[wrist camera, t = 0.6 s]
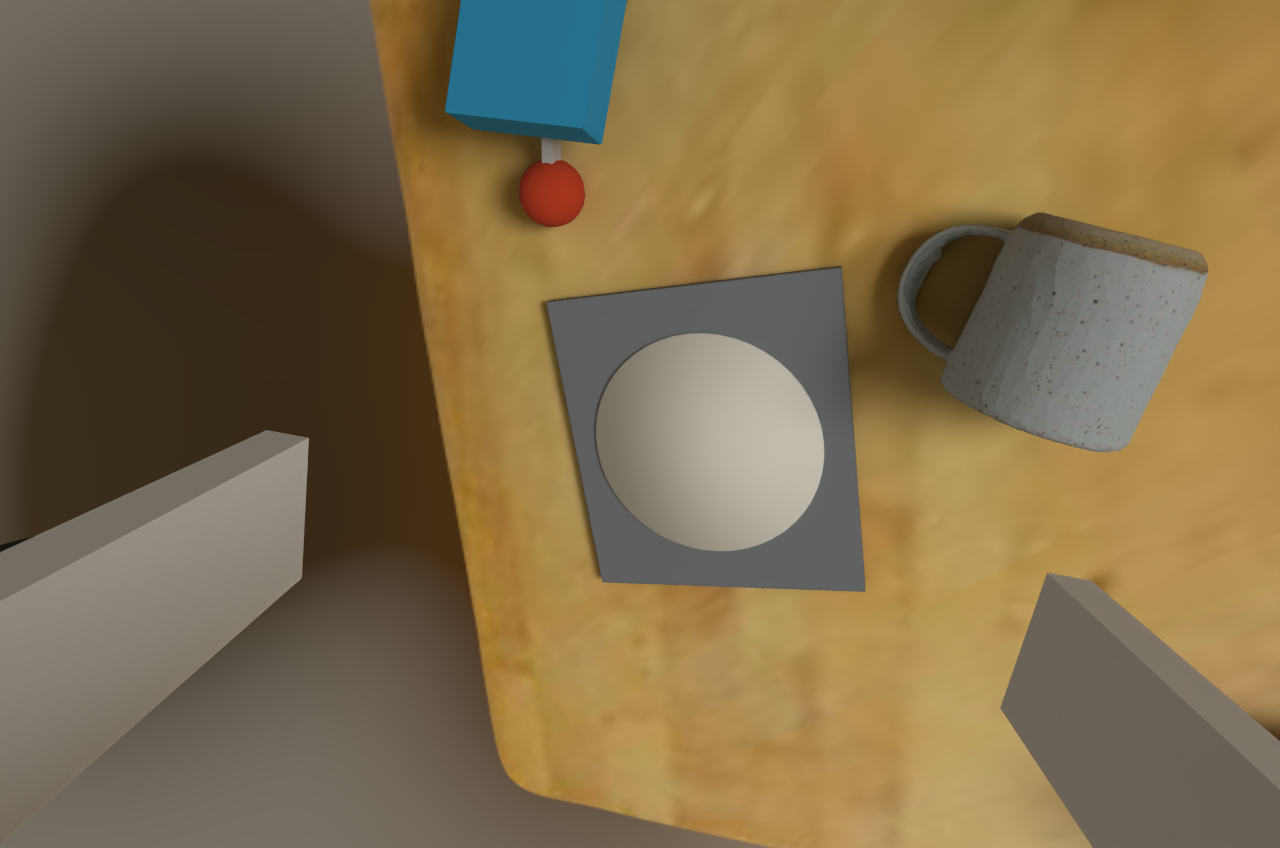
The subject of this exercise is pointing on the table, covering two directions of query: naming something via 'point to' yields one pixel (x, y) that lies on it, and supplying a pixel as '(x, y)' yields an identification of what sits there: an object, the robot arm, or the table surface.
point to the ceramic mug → (1064, 327)
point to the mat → (716, 431)
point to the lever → (538, 85)
